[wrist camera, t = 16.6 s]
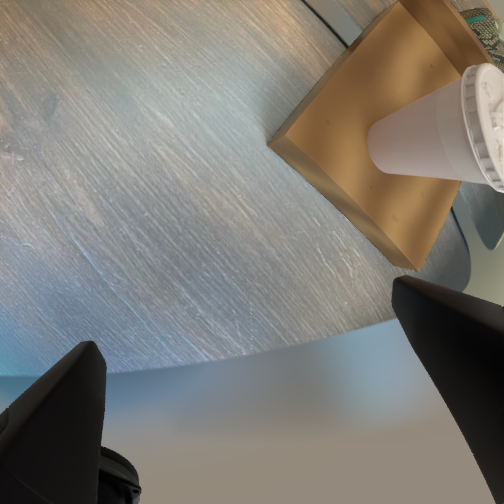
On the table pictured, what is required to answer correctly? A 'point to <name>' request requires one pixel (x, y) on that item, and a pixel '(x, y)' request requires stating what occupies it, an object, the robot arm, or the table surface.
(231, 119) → the table surface
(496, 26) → the ballet flat
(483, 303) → the robot arm
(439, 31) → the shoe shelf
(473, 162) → the smoothie
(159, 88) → the table surface
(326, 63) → the table surface
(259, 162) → the table surface
